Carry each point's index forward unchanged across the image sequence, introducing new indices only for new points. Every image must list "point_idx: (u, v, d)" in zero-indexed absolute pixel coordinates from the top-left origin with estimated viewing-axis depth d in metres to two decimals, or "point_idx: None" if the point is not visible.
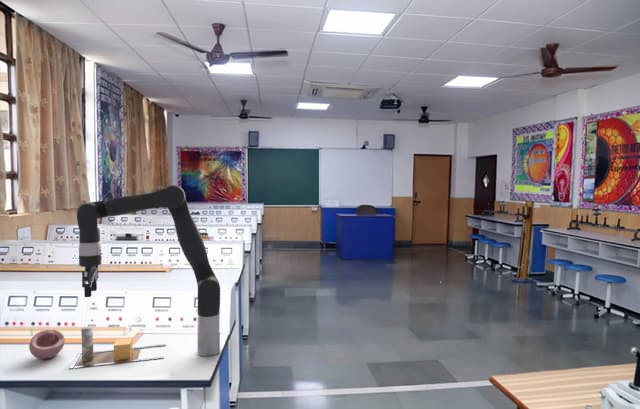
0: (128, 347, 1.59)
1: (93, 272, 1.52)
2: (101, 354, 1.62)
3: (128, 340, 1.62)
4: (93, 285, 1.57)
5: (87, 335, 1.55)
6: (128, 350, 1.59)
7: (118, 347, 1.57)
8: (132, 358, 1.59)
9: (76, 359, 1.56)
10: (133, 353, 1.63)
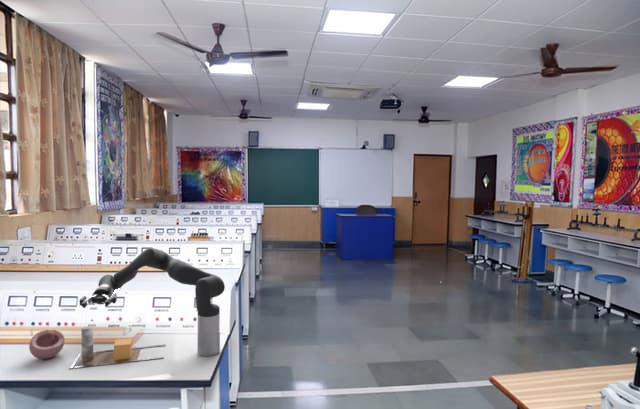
0: (128, 347, 1.59)
1: None
2: (101, 354, 1.62)
3: (128, 340, 1.62)
4: None
5: (87, 335, 1.55)
6: (128, 350, 1.59)
7: (118, 347, 1.57)
8: (132, 358, 1.59)
9: (76, 359, 1.56)
10: (133, 353, 1.63)
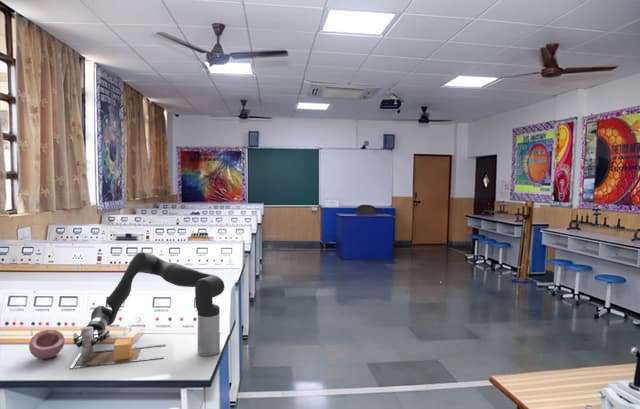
0: (128, 347, 1.59)
1: None
2: (101, 354, 1.62)
3: (128, 340, 1.62)
4: None
5: (87, 335, 1.55)
6: (128, 350, 1.59)
7: (118, 347, 1.57)
8: (132, 358, 1.59)
9: (76, 359, 1.56)
10: (133, 353, 1.63)
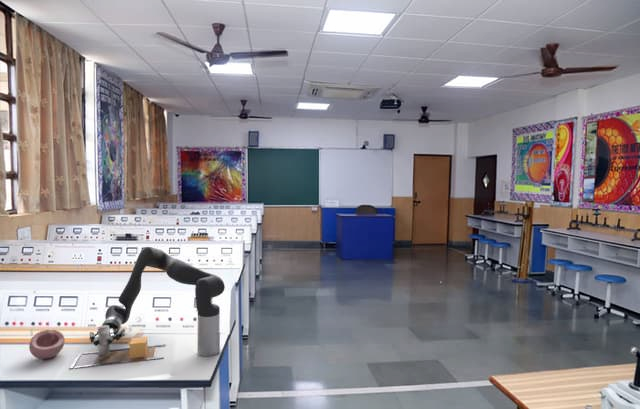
0: (144, 345, 1.61)
1: None
2: (117, 352, 1.64)
3: (143, 339, 1.64)
4: None
5: (103, 333, 1.56)
6: (144, 348, 1.61)
7: (134, 345, 1.59)
8: (147, 356, 1.61)
9: (76, 359, 1.56)
10: (148, 351, 1.65)
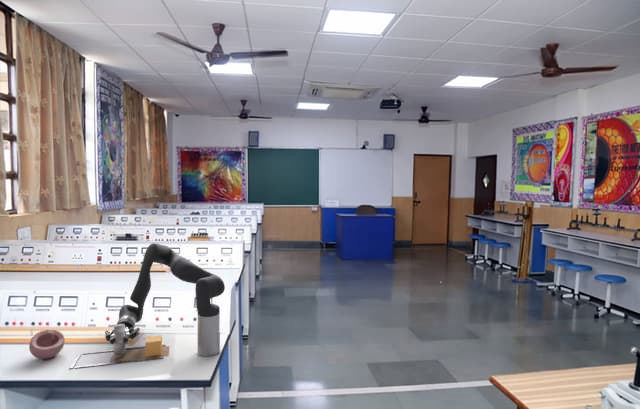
0: (159, 344, 1.62)
1: None
2: (132, 351, 1.66)
3: (158, 337, 1.66)
4: None
5: (119, 332, 1.58)
6: (159, 347, 1.62)
7: (149, 343, 1.61)
8: (163, 354, 1.63)
9: (76, 359, 1.56)
10: (163, 350, 1.67)
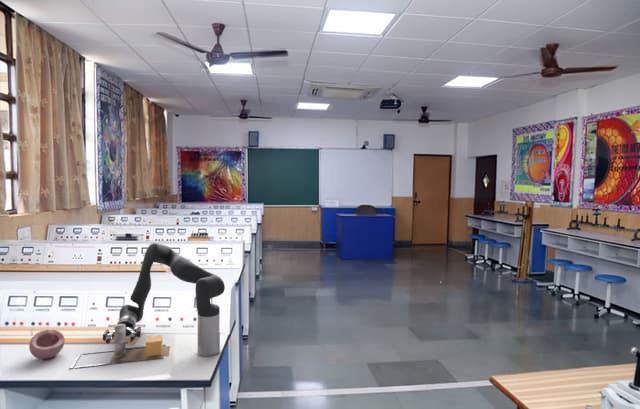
0: (159, 344, 1.62)
1: None
2: (132, 351, 1.66)
3: (159, 337, 1.66)
4: None
5: (120, 332, 1.58)
6: (159, 347, 1.62)
7: (149, 343, 1.61)
8: (163, 354, 1.63)
9: (76, 359, 1.56)
10: (163, 350, 1.67)
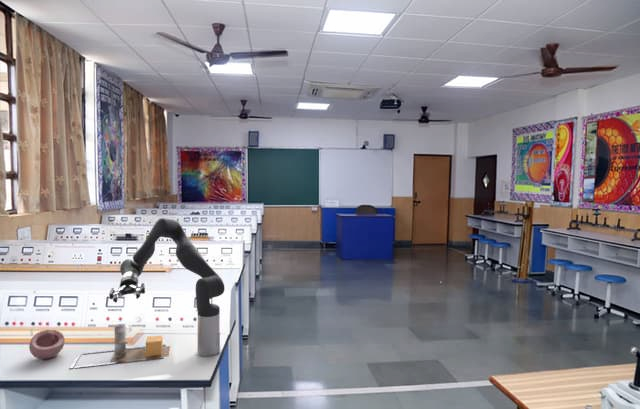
0: (159, 344, 1.62)
1: None
2: (132, 351, 1.66)
3: (159, 337, 1.66)
4: None
5: (120, 332, 1.58)
6: (159, 347, 1.62)
7: (149, 343, 1.61)
8: (163, 354, 1.63)
9: (76, 359, 1.56)
10: (163, 350, 1.67)
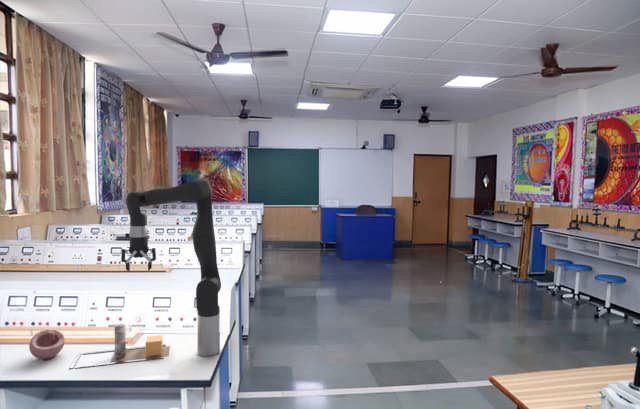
0: (159, 344, 1.62)
1: (133, 251, 1.75)
2: (132, 351, 1.66)
3: (159, 337, 1.66)
4: (148, 265, 1.78)
5: (120, 332, 1.58)
6: (159, 347, 1.62)
7: (149, 343, 1.61)
8: (163, 354, 1.63)
9: (76, 359, 1.56)
10: (163, 350, 1.67)
